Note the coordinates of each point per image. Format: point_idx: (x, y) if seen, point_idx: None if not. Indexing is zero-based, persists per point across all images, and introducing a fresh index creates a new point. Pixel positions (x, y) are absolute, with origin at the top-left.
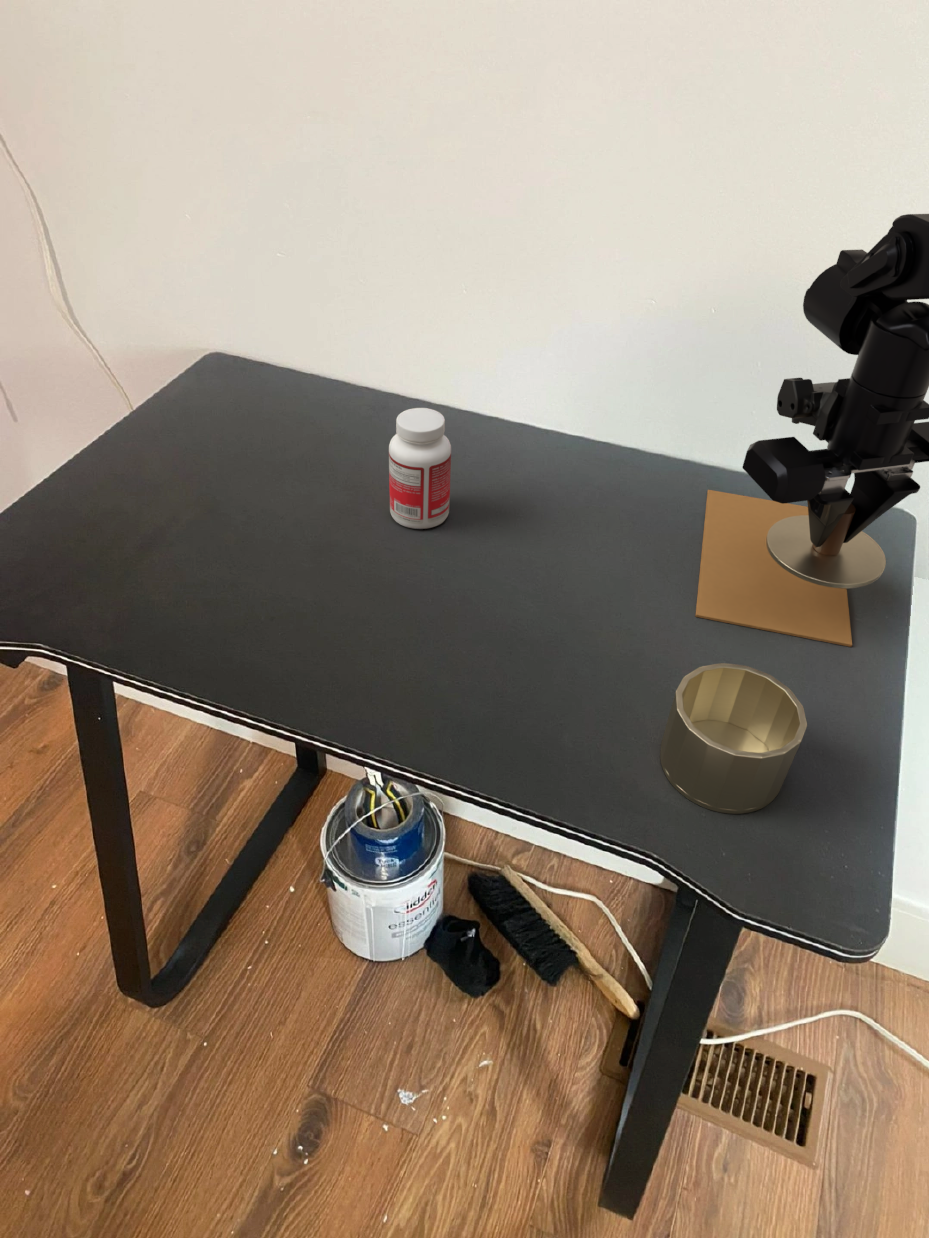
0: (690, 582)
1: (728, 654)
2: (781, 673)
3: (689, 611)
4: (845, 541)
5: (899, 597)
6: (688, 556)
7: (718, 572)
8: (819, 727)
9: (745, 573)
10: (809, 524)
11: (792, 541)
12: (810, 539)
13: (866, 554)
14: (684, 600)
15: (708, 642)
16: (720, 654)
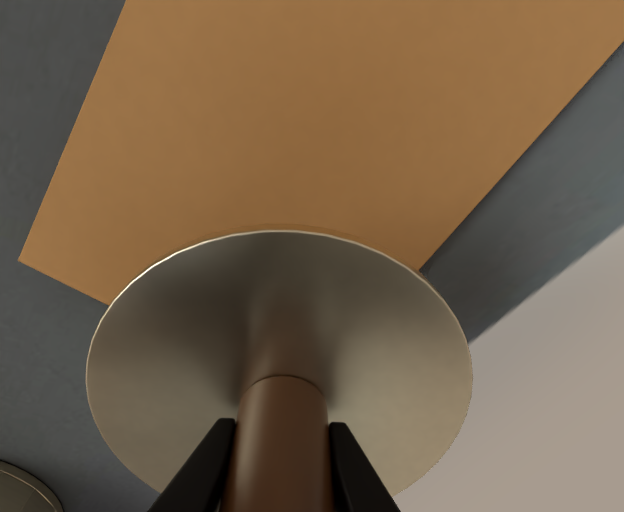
0: (46, 140)
1: (63, 358)
2: None
3: (14, 237)
4: None
5: (498, 319)
6: (75, 21)
7: (130, 136)
8: (151, 492)
9: (204, 162)
10: (179, 470)
11: (189, 357)
12: (217, 420)
13: (384, 455)
14: (11, 199)
15: (32, 325)
16: (47, 355)
